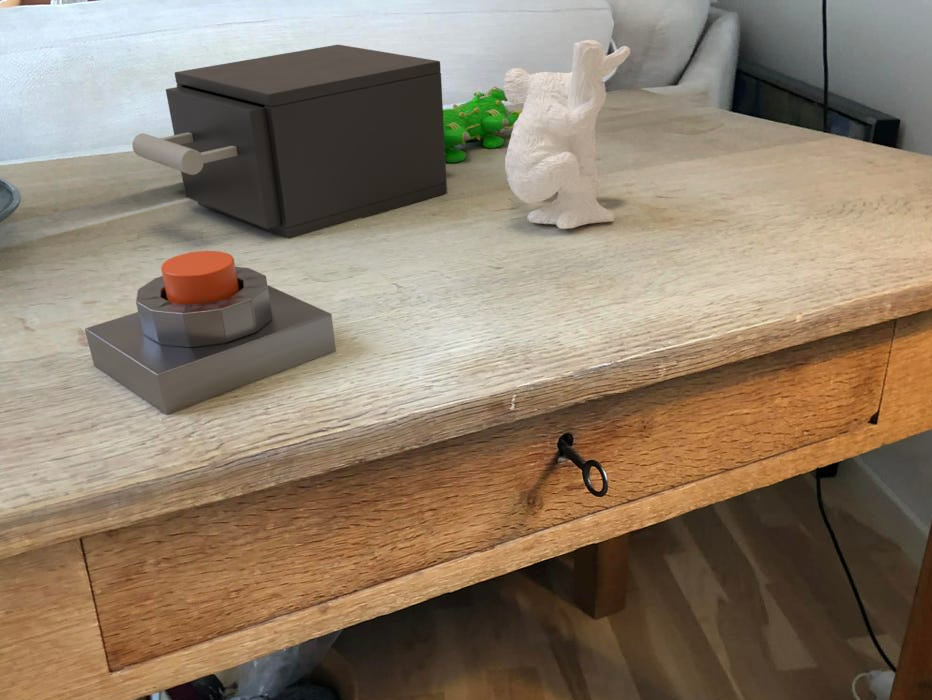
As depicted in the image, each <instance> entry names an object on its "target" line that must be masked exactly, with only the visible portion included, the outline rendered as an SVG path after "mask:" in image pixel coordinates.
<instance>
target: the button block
mask: <svg viewBox="0 0 932 700" xmlns="http://www.w3.org/2000/svg"><path fill="white" fill-rule="evenodd" d="M235 268H236V274H237V280H238V286H239V292H237V293H236V294H235V295H233V296H231V297H228V298H225V299H222V300H218V301H215V302H207V303H198V304H182V303H171V302H169V301H168V299H167V295H166V290H165V285H164V280H163V275H161V276H158V277H155V278H153V279H152V280H150V281H149V282H147V283H146V284H144V285H142V286H141V287H139V288H138V289H137V295H136V299H135V305H136V308H137V311H136V312H133V313H129V314H127V315H124V316H123V315H122V316H121V317H117V318H114V319H111V320H107V321H104V322H101V323H98V324H94V325H91V326H88V327H85V328H84V332H85V336H86V341H87V344H88V348H89V351H90V354H91V360H92V363H93V366H94V367H95V368H96V369H97V370H99V371H100V372H102V373H104V374H105V375H107V376H108V377H110V378H111V379H112V380H113V381H115V382H117V383H118V384H120V385H121V386H123V387H124V388H126V389H127V390H128V391H130V392H131V393H133V394H134V395H135V396H137V397H139V398H140V399H141V400H143V401H144V402H147V404H149V405H150V406H152V407H153V408H154V409H156V410H158V411H159V412H161V413H162V414H163V415H164V416H168V415H171V414H174V413H177V412H179V411H182V410H184V409H186V408H190V407H192V406H195V405H197V404H201V403H203V402H206V401H209V400H211V399H213V398H216V397H219V396H221V395H223V394H227V393H230V392H232V391H234V390H237V389H241V388H242V387H246V386H248V385H250V384H254V383H256V382H258V381H261V380H264V379H266V378H269V377H271V376H274V375H276V374H280V373H282V372H284V371H287V370H290V369H293V368H296V367H298V366H301V365H304V364H306V363H308V362H309V363H310V362H312V361H314V360H317V359H319V358H322V357H325V356H328V355H330V354H332V353H335V352H336V351H337V349H336V340H335V331H334V325H333V323H334V322H333V316H332V313H331V312H328V311H326V310H324V309H321V308H319V307H318V306H316V305H313V304H311V303H308V302H307V301H304V300H302V299H300V298H297V297H296V296H293V295H291V294H288V293H287V292H284V291H282V290H280V289H277V288H276V287H273V286H272V285H269V284H268V280H267V276H266V275H265V274H263V273H261V272H259V271H257V270H254V269H252V268H249V267H245V266H243V267H242V266H235Z"/></svg>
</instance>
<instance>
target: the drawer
mask: <svg viewBox="0 0 932 700" xmlns="http://www.w3.org/2000/svg"><path fill="white" fill-rule="evenodd" d="M202 91H203V92H200V91H196V90H192V89H188V88H184V87H177V86H176V87H170V88H166V89H165V94H166V99H167V103H168V104H167V105H168V110H169V116H170V121H171V125H172V126H171V127H172V131H173V135H169V136H163V137H157V136H154V135H150V134H147V133H144V132H143V133H138V134H137V135H135V136H134V138H133V140H132V150H133V152H134V153H135V155H137V156H138V157H140V158H143V159H146V160H148V161H151V162H153V163H157V164H159V165H162V166H165V167H168V168H170V169H173V170H176V171H179V172H180V173H181V179H182V184H183V190H184V195H185V198H187V199H190V200H192V201H195V202H197V203H198V202H200V203H202V204H205V205H207V206H210V207H213V208H215V209H218V210H220V211H223V212H226V213H228V214H231V215H233V216H236V217H238V218H241V219H244V220H246V221H249V222H251V223H254V224H256V225H259V226H262V227H264V228H267V229H269V228H272V227H276V226H279V225H282V223H281V216H280V209H279V202H278V194H277V187H276V180H275V173H274V166H273V159H272V151H271V144H270V137H269V130H268V123H267V116H266V109H265V107H264V106H266V105H262V104H258V103H254V102H250V101H246V100H242V99H237V98H233V97H229V96H225V95H221V94H217V93H213V92H209V91H205V90H202Z"/></svg>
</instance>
